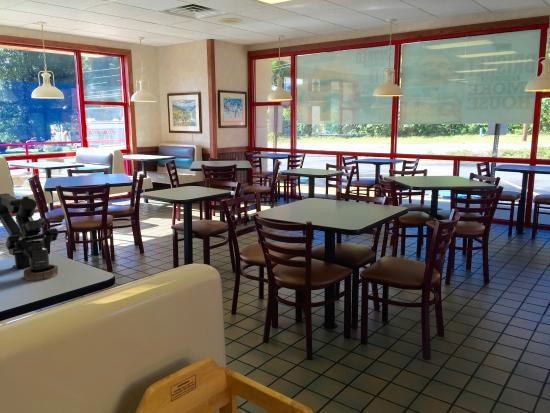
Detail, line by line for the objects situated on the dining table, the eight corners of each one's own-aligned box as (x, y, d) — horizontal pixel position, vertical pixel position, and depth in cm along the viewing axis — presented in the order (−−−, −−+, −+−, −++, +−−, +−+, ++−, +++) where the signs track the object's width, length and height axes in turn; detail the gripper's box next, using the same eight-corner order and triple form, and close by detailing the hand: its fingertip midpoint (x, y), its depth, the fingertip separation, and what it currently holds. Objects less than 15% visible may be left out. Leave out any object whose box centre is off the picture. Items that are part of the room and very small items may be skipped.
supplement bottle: (39, 274, 183) (35, 244, 181) (27, 272, 185) (23, 243, 183) (54, 269, 189) (50, 240, 187) (41, 267, 192) (38, 238, 189)
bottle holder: (19, 276, 187) (18, 270, 186) (49, 269, 196) (49, 262, 195) (32, 282, 179) (31, 275, 179) (63, 274, 188) (62, 267, 188)
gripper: (4, 216, 179) (18, 249, 173) (54, 208, 192) (68, 239, 187) (0, 233, 186) (13, 265, 180) (48, 225, 199) (62, 254, 194)
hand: (40, 255), depth 185 cm, fingers closed on supplement bottle, 7 cm apart
